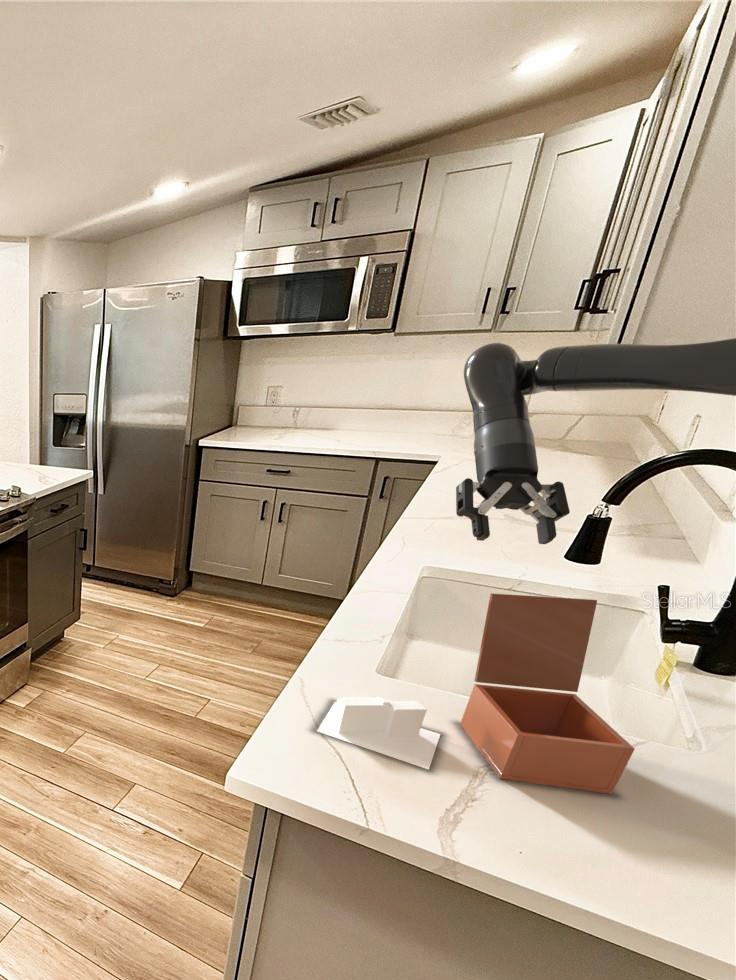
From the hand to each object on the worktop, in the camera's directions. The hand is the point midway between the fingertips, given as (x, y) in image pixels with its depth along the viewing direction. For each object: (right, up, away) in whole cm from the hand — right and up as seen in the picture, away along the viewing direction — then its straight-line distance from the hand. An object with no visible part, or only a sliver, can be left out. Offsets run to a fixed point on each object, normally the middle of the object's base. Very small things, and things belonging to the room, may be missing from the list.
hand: (514, 540), depth 99 cm
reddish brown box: (-4, -33, -7) cm, 34 cm away
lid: (-2, -16, -6) cm, 17 cm away
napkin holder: (-22, -31, 0) cm, 38 cm away
